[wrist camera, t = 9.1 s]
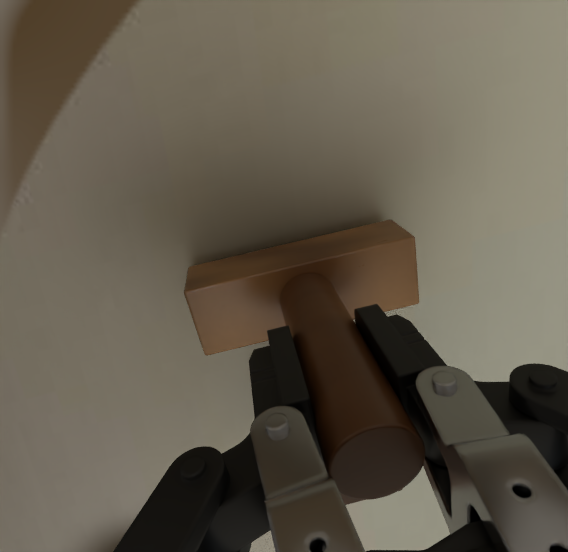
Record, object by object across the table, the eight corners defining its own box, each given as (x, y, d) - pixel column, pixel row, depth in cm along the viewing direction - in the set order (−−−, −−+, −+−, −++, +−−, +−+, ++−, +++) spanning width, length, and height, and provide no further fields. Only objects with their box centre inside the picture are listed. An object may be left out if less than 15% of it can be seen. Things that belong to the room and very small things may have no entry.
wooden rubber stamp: (207, 325, 19) (192, 561, 9) (187, 266, 18) (147, 469, 8) (396, 279, 19) (568, 460, 10) (391, 218, 18) (582, 358, 8)
